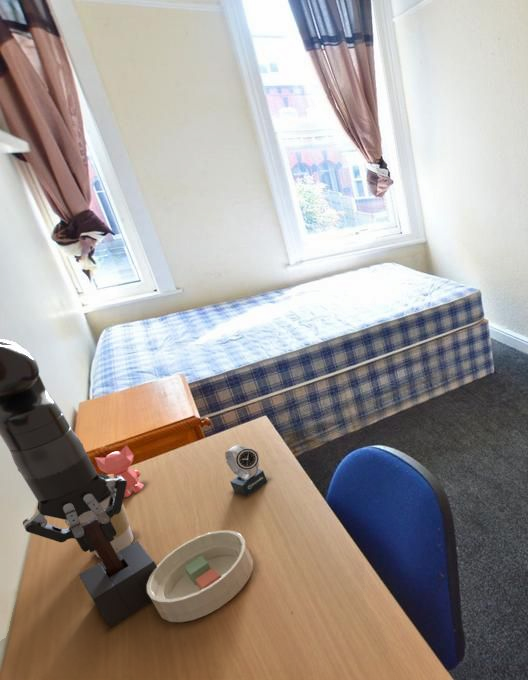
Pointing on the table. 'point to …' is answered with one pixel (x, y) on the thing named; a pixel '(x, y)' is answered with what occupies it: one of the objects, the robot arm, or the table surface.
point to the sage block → (197, 568)
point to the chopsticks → (102, 546)
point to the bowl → (185, 597)
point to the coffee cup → (118, 522)
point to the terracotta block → (207, 578)
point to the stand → (120, 584)
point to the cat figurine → (121, 468)
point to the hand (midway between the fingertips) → (101, 543)
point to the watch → (245, 469)
